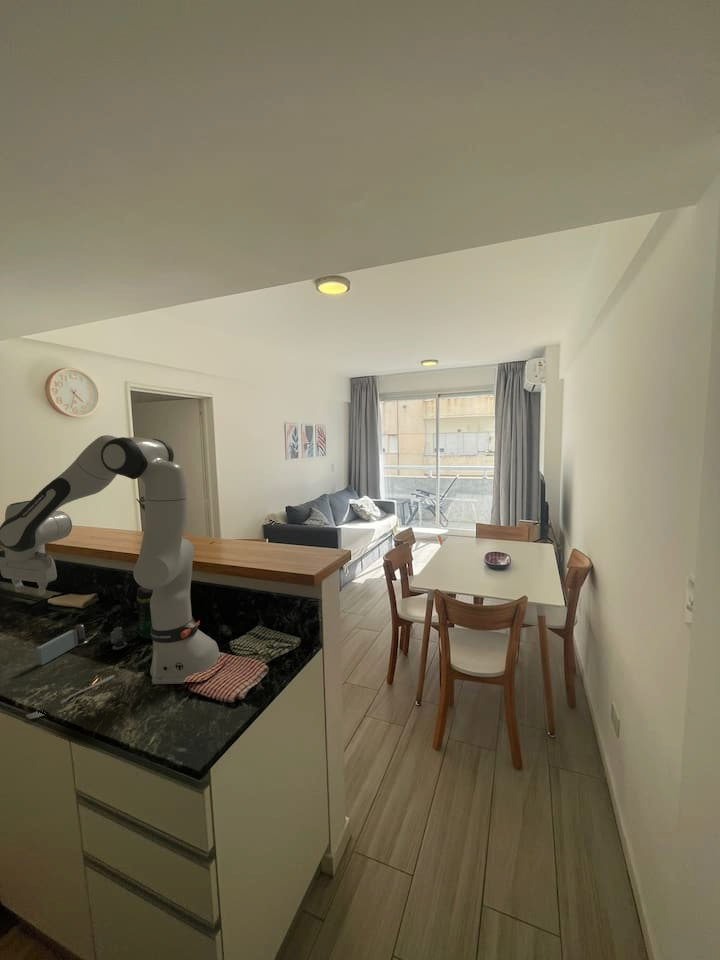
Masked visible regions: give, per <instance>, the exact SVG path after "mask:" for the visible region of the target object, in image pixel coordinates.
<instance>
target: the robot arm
mask: <svg viewBox="0 0 720 960" xmlns="http://www.w3.org/2000/svg"><path fill="white" fill-rule="evenodd" d="M174 455H175V453H174V451H173V448H172V447H171V446H170V445H169V444H168V443H167V442H165V441H163V440H160V439H158V438H156V439H155V438H146V437H140V436H136V437H135V436H133V437H123V436H122V437H121V436H120V437H116V436H113V435H107V434H106V435H101V436H99V437H97V438H95V440H93V441H92V442H91V443H90V444H89V445H88V446H86V448H84V450H83V451H82V452H81V453H80V454H79V455H78V456H77V457H76V459H75V460H74V461H73V462H72V463H71V464H70V465H69V466H68V467H67V468H66V469H65V470H64V471H63V472H62V473H61V474H59V475H58V476H57V477H55V479H52V480H51V481H50V482H49V483H48V484H47V485H45V486H44V487H43V488H42V489H40V491H39V492H38V493H37V494H36V495H35V496H34V497H33V498H32V499H31V500H26V501H25V500H23V501H20V502H13V503H11V504H9V505H7V507H6V509H5V513H4V521H3V523H2V524H1V525H0V544H1V545H2V546H3V547H4V548H3V549H0V574H1V576H2V578H4V579H10V580H11V583H12V584H13V586H14V588H15V593H23V592H24V591H25V590H26V589H25V588H26V586H25V585H24V584H23V582H22V581H26V582H30V583H31V582H32V583H33V582H34V583H37V586H38V588H37V589H35V591H36V593H35V594H36V595H37V596H44V595H45V594H46V593H47V591H46V588H47V587H48V584H49V583H51V582H54V581H56V580H57V577H58V574H57V573H58V571H57V568H56V563H55V560H54V559H53V558H52V556H51V555H49V553H47V552H46V550H45V549H46V547H45V545H47V544H50V543H53V542H56V541H59V540H62V539H65V538H67V537H68V536H69V535H70V534H71V531H72V528H73V523H72V520H71V517H70V516H69V515H68V514H67V513H66V512H64V511H62V510H58V509H60V508H61V507H63V506H64V505H66V504H69V503H71V502H73V501H76V500H79V499H83V498H86V497H90V496H93V495H96V494H98V493H100V492H102V491H103V490H104V489H105V488H107V487H108V486H109V485H110V484H111V483H112V482H113V480H114V479H115V478H116V477H117V475H119V476H122V477H125V478H129V479H132V480H136V479H138V478H140V479H141V480H142V482H143V484H144V508H145V509H144V511H145V512H144V521H145V523H144V530H143V537H142V539H141V540H142V541H141V545H140V551H139V555H138V559H137V561H136V563H135V565H134V567H133V570H132V572H133V578H134V580H135V582H136V583H137V585H138V586H140V587H143V588H146V589H153V593H152V596H151V599H150V610H151V621H152V625H151V638H150V639H151V640H152V659H151V666H150V670H149V674H150V676H151V684H153V685H168V684H170V685H173V684H184V683H183V681H184V680H185V678H186V677H188V676H190V675H192V674H194V673H197V672H203V671H205V670H207V669H208V668H210V667H211V666H213V665H214V664H215V663H216V661H217V660H218V658H219V656H220V654H226V653H224V652H221V651H220V650H219V646H218V644H217V642H216V640H215V639H212V638H211V637H210V636H208V634H205V633H204V632H203V631H201V630H200V629H199V625H200V624H201V623H200V622H201V620H198V621H197V622H196V619H194V617H193V616H192V604H191V584H192V576H193V561H194V557H195V553H196V552H195V546H194V544H193V543H192V542H191V541H190V540H189V539H186V538H184V537H183V536H184V532H185V528H186V526H187V521H188V520H187V519H188V518H187V516H188V514H187V505H188V504H187V502H188V501H187V486H186V484H187V483H186V479H185V473H184V471H183V470H184V469H183V467H182V466H181V465H180V464H178V463H176V462H174V457H175V456H174Z"/></svg>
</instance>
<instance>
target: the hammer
mask: <svg viewBox="0 0 720 960" xmlns="http://www.w3.org/2000/svg"><path fill="white" fill-rule="evenodd" d="M109 633H110V641H111V642H110V644H111V645H113V646H112V648H111V649H112V650H113V651H119V650H122V649H125V648H126V647H127V646H128V642H125V639H124V630H123V627H122V626H118V627H117V626H116V627H115V628H113V630H112V631H111V632H109Z"/></svg>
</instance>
